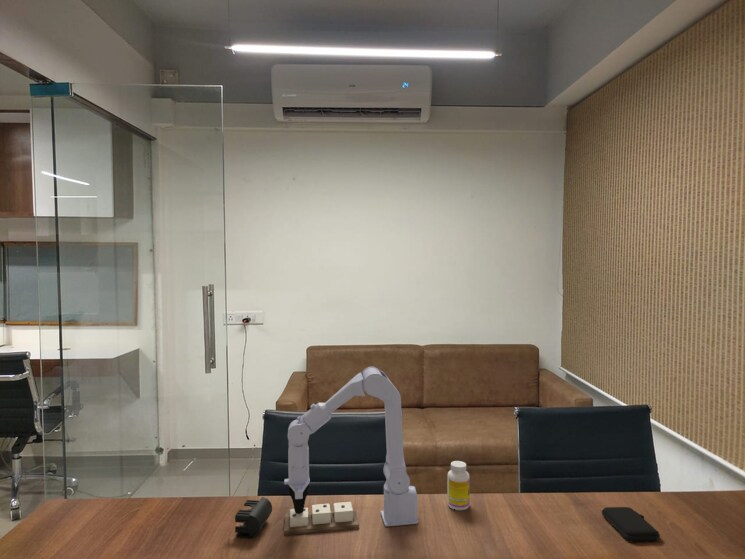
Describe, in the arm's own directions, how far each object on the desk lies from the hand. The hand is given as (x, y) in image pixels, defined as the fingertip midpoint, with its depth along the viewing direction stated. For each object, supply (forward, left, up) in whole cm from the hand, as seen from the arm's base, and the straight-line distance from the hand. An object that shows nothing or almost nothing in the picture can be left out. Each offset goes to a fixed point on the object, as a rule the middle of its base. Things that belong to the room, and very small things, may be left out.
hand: (299, 511), depth 132 cm
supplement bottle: (-48, -3, -4) cm, 48 cm away
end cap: (+12, 0, -4) cm, 13 cm away
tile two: (-6, 0, -3) cm, 7 cm away
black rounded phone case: (-91, +16, -4) cm, 93 cm away
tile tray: (-6, 0, -4) cm, 7 cm away
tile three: (0, 0, -3) cm, 3 cm away
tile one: (-12, 0, -3) cm, 13 cm away
